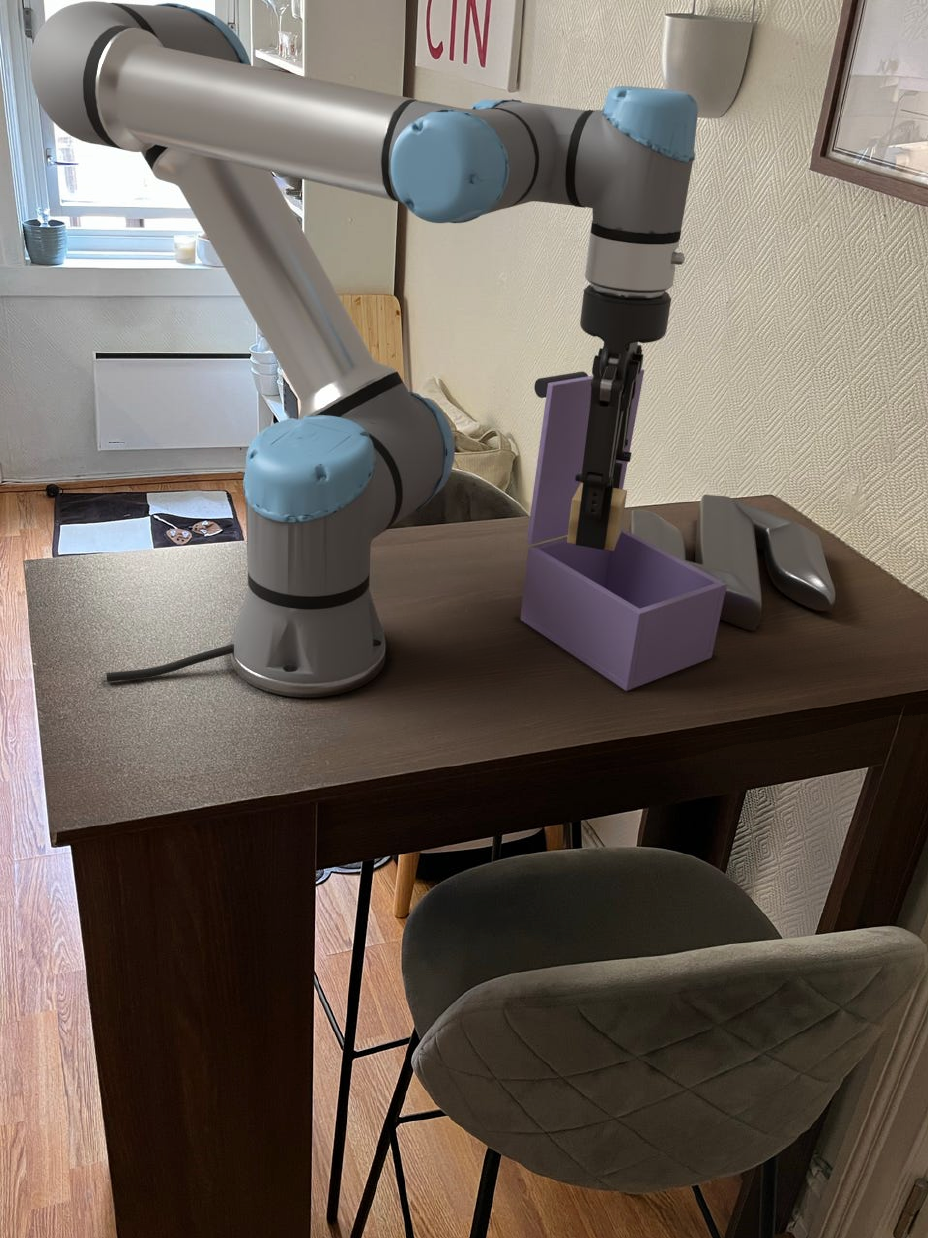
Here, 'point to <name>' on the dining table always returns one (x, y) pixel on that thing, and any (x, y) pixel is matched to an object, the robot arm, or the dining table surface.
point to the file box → (622, 607)
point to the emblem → (746, 555)
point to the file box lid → (564, 451)
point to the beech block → (613, 522)
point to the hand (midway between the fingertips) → (594, 534)
